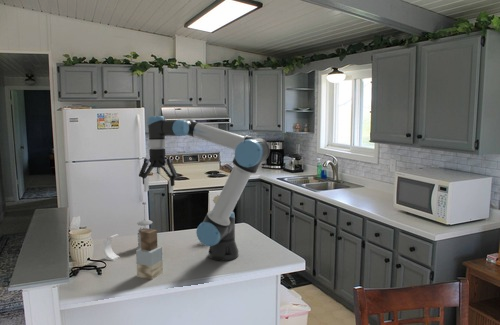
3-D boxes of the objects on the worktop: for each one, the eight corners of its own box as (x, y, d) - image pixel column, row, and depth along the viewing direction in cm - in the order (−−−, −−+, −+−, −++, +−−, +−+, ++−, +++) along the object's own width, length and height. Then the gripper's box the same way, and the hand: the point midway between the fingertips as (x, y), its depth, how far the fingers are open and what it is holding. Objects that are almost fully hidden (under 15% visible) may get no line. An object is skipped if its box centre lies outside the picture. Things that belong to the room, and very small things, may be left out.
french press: (157, 245, 222) (156, 200, 219) (150, 252, 211) (148, 204, 208) (140, 244, 223) (138, 199, 220) (132, 251, 212) (130, 204, 209)
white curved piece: (113, 260, 199) (112, 236, 197) (103, 259, 201) (102, 235, 200) (119, 257, 203) (118, 234, 201) (110, 256, 205) (109, 233, 204)
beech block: (162, 272, 183) (162, 260, 183) (152, 279, 176) (152, 266, 175) (147, 270, 186) (147, 257, 186) (137, 276, 179) (136, 263, 178)
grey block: (162, 260, 183) (161, 247, 182) (151, 266, 175) (151, 252, 175) (147, 257, 186) (146, 245, 185) (136, 263, 178) (136, 250, 177)
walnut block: (157, 247, 181) (156, 230, 180) (150, 250, 177) (149, 233, 176) (148, 246, 183) (147, 228, 182) (141, 249, 179) (140, 231, 178)
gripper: (184, 148, 195) (185, 191, 197) (139, 147, 202) (141, 189, 205) (176, 149, 188) (177, 194, 190) (130, 148, 195) (132, 191, 198)
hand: (158, 191), depth 197 cm, fingers open, 13 cm apart
